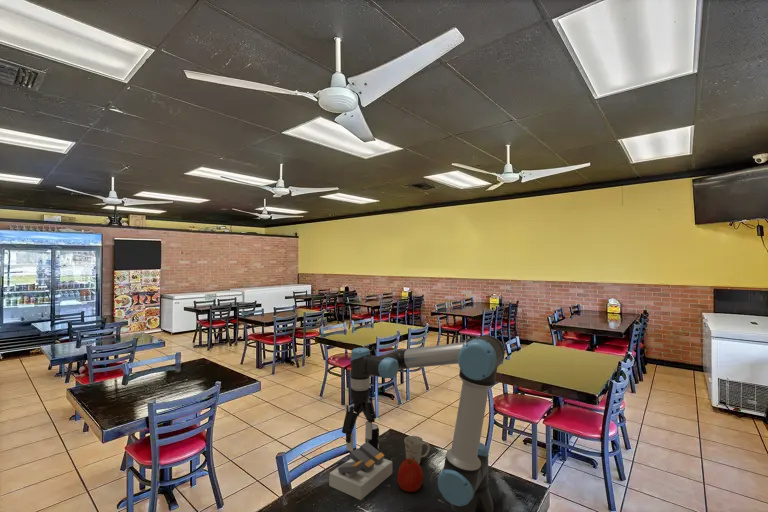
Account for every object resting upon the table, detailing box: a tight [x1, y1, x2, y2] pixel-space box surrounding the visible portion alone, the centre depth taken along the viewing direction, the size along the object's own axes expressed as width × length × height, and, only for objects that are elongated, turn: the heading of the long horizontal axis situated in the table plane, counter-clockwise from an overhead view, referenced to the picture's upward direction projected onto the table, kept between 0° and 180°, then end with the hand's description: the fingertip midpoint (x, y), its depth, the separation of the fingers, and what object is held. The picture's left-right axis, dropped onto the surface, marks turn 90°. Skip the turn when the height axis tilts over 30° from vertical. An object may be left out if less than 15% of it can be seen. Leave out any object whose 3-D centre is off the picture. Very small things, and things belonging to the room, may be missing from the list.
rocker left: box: [337, 460, 365, 473], centre depth 144 cm, size 10×5×2 cm, turn 56°
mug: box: [403, 435, 431, 465], centre depth 165 cm, size 8×13×10 cm, turn 115°
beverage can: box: [364, 423, 380, 452], centre depth 173 cm, size 7×7×12 cm
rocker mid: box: [349, 448, 375, 472], centre depth 150 cm, size 10×5×2 cm, turn 55°
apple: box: [397, 458, 424, 493], centre depth 145 cm, size 10×10×10 cm
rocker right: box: [359, 442, 385, 464], centre depth 156 cm, size 10×5×2 cm, turn 55°
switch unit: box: [328, 458, 393, 501], centre depth 150 cm, size 16×22×7 cm
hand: (359, 444), depth 143 cm, fingers open, 11 cm apart
